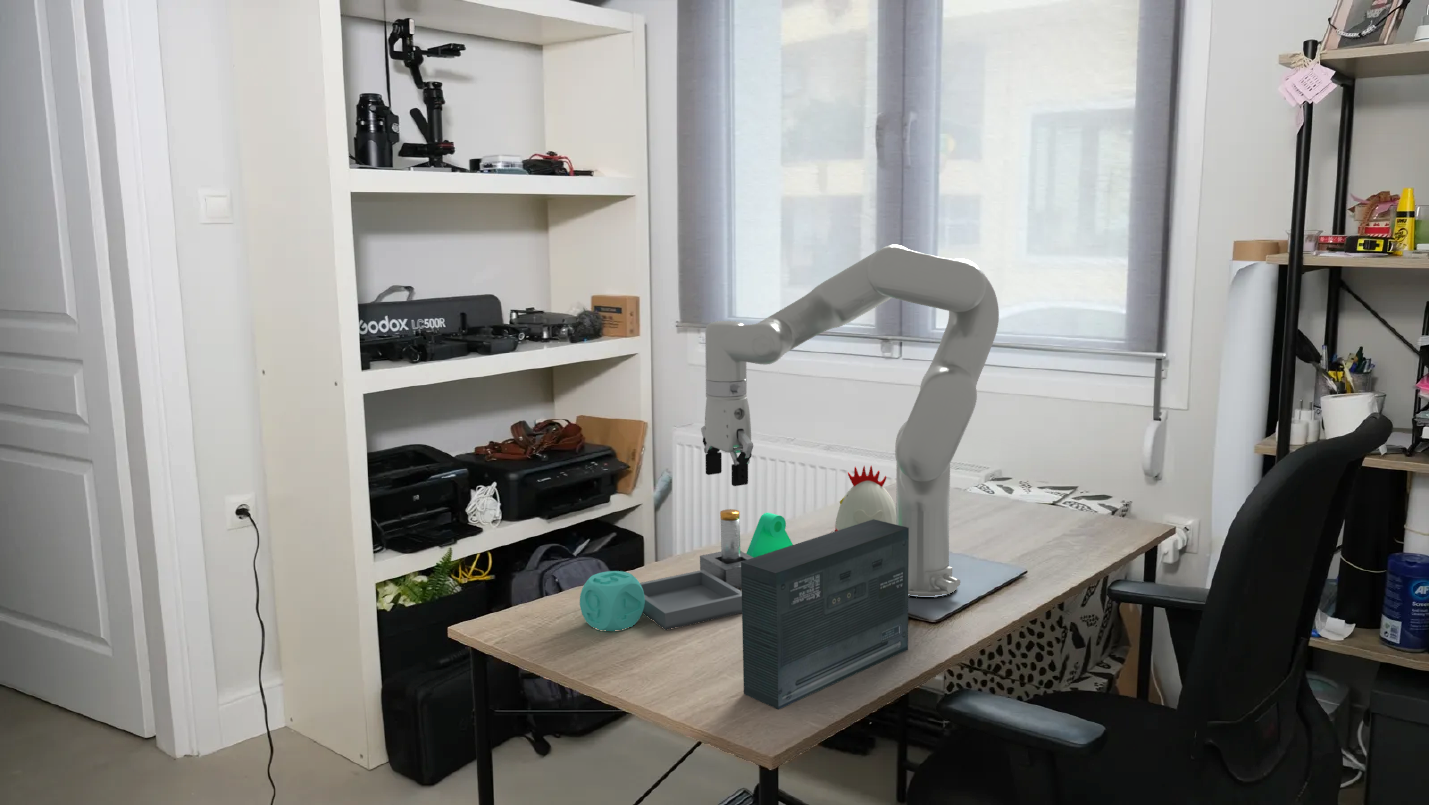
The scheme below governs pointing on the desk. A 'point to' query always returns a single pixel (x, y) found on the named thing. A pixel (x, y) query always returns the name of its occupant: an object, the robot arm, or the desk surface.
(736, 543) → the pin
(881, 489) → the kitchen timer
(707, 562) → the block
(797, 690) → the cassette player
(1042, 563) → the desk surface
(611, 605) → the decorative dice
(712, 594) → the tray
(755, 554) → the green mounting bracket
